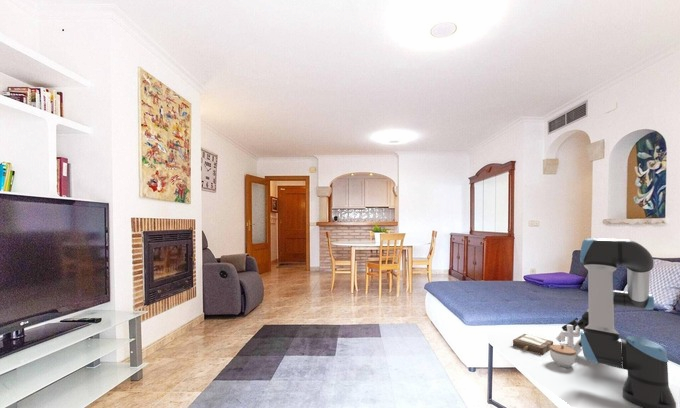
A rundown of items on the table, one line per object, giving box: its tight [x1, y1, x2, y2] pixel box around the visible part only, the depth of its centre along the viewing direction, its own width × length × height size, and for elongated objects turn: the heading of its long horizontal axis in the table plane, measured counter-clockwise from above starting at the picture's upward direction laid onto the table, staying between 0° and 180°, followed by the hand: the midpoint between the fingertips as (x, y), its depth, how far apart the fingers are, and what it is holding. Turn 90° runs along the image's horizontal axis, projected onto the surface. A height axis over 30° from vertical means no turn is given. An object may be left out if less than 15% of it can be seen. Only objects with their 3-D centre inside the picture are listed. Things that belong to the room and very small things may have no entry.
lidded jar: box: [549, 344, 577, 368], centre depth 158 cm, size 11×11×9 cm
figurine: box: [559, 325, 583, 356], centre depth 172 cm, size 7×9×15 cm
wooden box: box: [512, 333, 554, 356], centre depth 179 cm, size 20×15×4 cm
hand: (565, 344), depth 172 cm, fingers open, 12 cm apart
